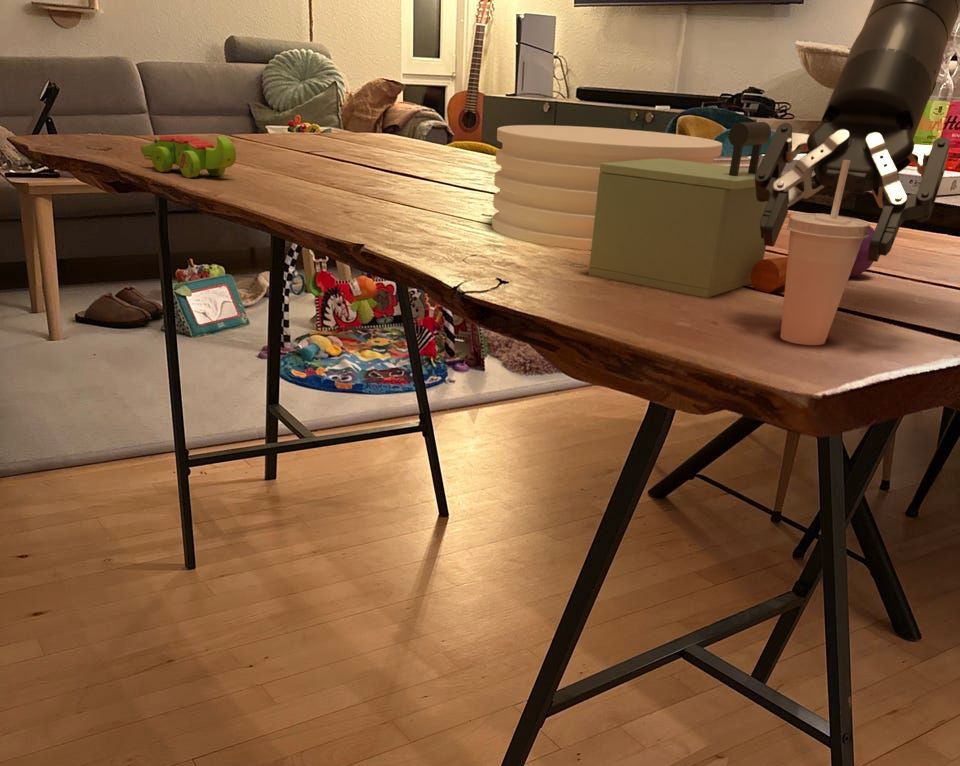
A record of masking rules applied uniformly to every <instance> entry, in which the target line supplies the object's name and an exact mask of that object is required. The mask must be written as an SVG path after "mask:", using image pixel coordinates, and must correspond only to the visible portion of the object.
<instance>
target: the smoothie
mask: <svg viewBox="0 0 960 766" xmlns="http://www.w3.org/2000/svg"><path fill="white" fill-rule="evenodd" d="M849 165H850V160H843V162H842V167H841V171H840V176H839V180H838V184H837V189H836V192H834V198H833V203H832V206H831V211H830V214H829V213H828V214H827V213H817V212H815V213H812V212H811V213H809V212H805V213H800V212H799V213H793V214H791V215H790V216H789V219H788V224H787V225H786V230H788V231H789V239H788V250H787V257H788V260H787V271H786V282H785V284H784V292H783V293H784V294H783V306H782V316H781V326H780V327H781V328H780V339H782V340H783V341H785V342H788V343H793V344H797V345H805V346H819V345H820V346H821V345H824V344H825V343H826V341H827V338H828V335H829V333H830V330H831V327H832V326H833V325H832V324H833V322H834V319H835V316H836V314H837V311H838V308H839V306H840V302H841V300H842V297H843V295H844V291H845V289H846V286H847V283H848V281H849V279H850V277H849V276H850V273H851V270H852V268H853V265H854V262H855V260H856V257H857V254H858V251H859V248H860V246H861V243H862V240H863V238H866V237H868V231H869V227H871V223H870V222H869V221H866V220H864V219H860V218H857V217H851V216H847V215H846V216H844V215H839V212H840V209H841V208H840V207H841V203H842V199H843V195H844V192H845V191H844V186H845V182H846V178H847V173H848V169H849Z"/></svg>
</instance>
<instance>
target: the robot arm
mask: <svg viewBox="0 0 960 766" xmlns="http://www.w3.org/2000/svg"><path fill="white" fill-rule="evenodd" d="M959 15H960V0H873V2H872V4H871V6H870V9H869V12H868V14H867V17H866V18H865V22H864V24H863V26H862V28H861V31H860V32H859V33H858V35H857V37H856V38H855V40H854V42H853V44H852V46H851V47H850V50H849V52H848V55H847V57H846V59H845V62H844V64H843V67H842V69H841V72H840V74H839V76H838V78H837V81H836V84H835V86H834V89H833V91H832V94H831V96H830V98H829V101H828V103H827V105H826V107H825V110H824V113H823V115H822V117H821V121H820V122H819V124H818V126H816V128H815V129H813V130H812V131H811V132H810V133H801V132H794V131H793V126H792V124H791V123H789V122H783V123H780V124H779V126H778V127H777V128H776V129H775V132H774V134H773V136H772V137H771V138H772V139H771V141H770V142H769V145H768V147H767V149H766V151H765V153H764V155H763V157H762V159H761V162H760V163H759V164H758V169H757V172H756V174H755V188H756V199H757V200H758V201H760V202H765V201H768V203H767V205H766V208H765V210H764V213H763V215H762V217H761V220H760V231H761V238H764V245H765V246H766V247H772V248H773V247H775V245H776V243H777V241H778V238H779V235H780V233H781V230H782V228H783V226H784V223H785V220H786V218H787V215H788V214H789V208H790V207H791V206H793V205H794V204H795V203H797V202H798V201H800V200H801V199H805V200H806V199H810V197H812V196H813V195H815V194H817V193H818V192H819V191H821V190H822V189H824V188H825V191H826V192H834V193H836V189H837V184H838V180H839V176H840V171H841V167H842V162H843V160H850V165H849V169H848V173H847V178H846V182H845V186H844V191H843V192H845V191H846V192H848V193H850V194H853V195H862V196H864V195H865V193H866V192H871V193H872V194H873V197H874V199H875V201H876V204H877V206H878V207H879V208H880V209H882V211H881V214H880V215H879V218H878V221H877V224H876V226H875V228H874V233H873V236H872V239H871V241H870V245H869V252H868V261H873V262H875V263H876V262H879V259H880V257H881V256H884V257H886V256H887V255H888V254H889V253H890V252H891V250H892V247H893V245H894V243H895V240H896V237H897V235H898V233H899V230H900V227H901V225H902V224H903V223H904V222H906V221H908V220H915V221H916V222H919V223H923V222H927V221H928V220H929V219H930V217H931V216H932V211H933V209H934V206H935V202H936V199H937V197H938V194H939V190H940V187H941V184H942V181H943V177H944V175H945V171H946V168H947V163H948V158H949V153H950V146H951V141H950V139H949V138H947V137H944V136H943V137H942V136H941V137H938V138H936V139H935V140H934V141H933V143H932V144H920V143H919V144H916V143H915V141H914V138H915V137H916V134H917V131H918V128H919V125H920V123H921V121H922V118H923V115H924V113H925V110H926V108H927V105H928V103H929V100H930V98H931V97H932V95H933V93H934V91H935V89H936V86H937V80H938V77H939V76H940V75H939V74H940V71H941V68H942V65H943V61H944V57H945V56H944V55H945V51H946V48H947V46H948V43H949V41H950V38H951V35H952V32H953V30H954V29H955V26H956V23H957V20H958V18H959ZM804 152H806V154H805V155H803V157H801V158H799V159H798V160H797V161H796V163H795V164H794V167H793V168H792V169H790V170H789V171H787V172H785V173H786V174H785V175H783V176H782V177H780V176H781V174H782V173H784V169H785V168H786V165H787V164H792V163H793V162H794V159H796V158H797V156H798V155H799V154H800V153H804ZM911 163H913V164H915V165H916V172H917V173H918V175H920V177H921V180H920V182H919V186H918V189H917V192H916V193H911V194H907V193H906V191H905V189H904V186H903V185H902V183H901V181H900V177H899V173H900V172H902V171H903V170H905V169H906V168H907V167H909V165H910V164H911ZM813 172H814V175H812V174H813Z"/></svg>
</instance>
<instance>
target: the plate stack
mask: <svg viewBox="0 0 960 766" xmlns="http://www.w3.org/2000/svg"><path fill="white" fill-rule="evenodd" d="M496 141H498V142H500V143H501V144H502V145H501V146H502V148H499V149H496V151H495V163H496V164H497V165H498V166H501V167H500V170H497V171H495V173H494V181H493V182H494V183H493V184H494V186H495V187H496V188H497V189H499V191H497V192H496V193H494V194H493V198H492V199H493V202H492V206H493V208H494V209H495V210H496V211H498V212H495V213H494V214H493V215H492V217H491V219H492V221H491V227H492V229H493V230H494V231H495V232H497V233H498V234H501V235H504V236H505V237H506V236H507V237H509V238H513V239H517V240H520V241H525V242H528V243H535V244H540V245H545V246H552V247H558V248H566V249H567V248H568V249H574V250H585V251H591V248H592V238H593V229H594V220H595V210H596V201H597V192H598V183H599V174H600V173H602V172H600V164H601V163H610V162H622V161H633V160H645V159H656V158H665V159H673V160H681V161H690V162H698V163H706V164H715V165H717V164H716V163H714V159H715V158H718V157H720V156H722V149H723V142H720V141H718V140H715V139H710V138H705V137H698V136H693V135H685V134H676V133H669V132H658V131H649V130H648V131H647V130H637V129H625V128H624V129H623V128H612V127H611V128H610V127H596V126H595V127H594V126H577V125H552V124H551V125H549V124H518V125H517V124H515V125H503V126H499V127H497V130H496Z"/></svg>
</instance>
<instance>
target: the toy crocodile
mask: <svg viewBox="0 0 960 766" xmlns="http://www.w3.org/2000/svg"><path fill="white" fill-rule="evenodd" d="M153 141H154V142H152V143H150V144H148V145H146V144H145V145H144V144H143V145H141V147H140V151H141V154H142V155H143V158H144V159H145V160H148V161H151V162H152V165H153V167H154V168H155V169H156V171H158V172H160V173H166V172H168V173H169V172H170V171H171V170H173V166H174V165H176V166H178V167H179V171H180V172H181V174H182V175H183V176H184V177H185V178H187V179H191V178H192V179H193V178H197V177H198V176H199V175H200V173H201V171H207V173H208V174H209V175H210V176H212V177H221V176H223V175H224V174H225V171H226V168H231V167H232V166H234V164H235V162H236V159H237V153H236V152H237V151H236V148H235V145H234V143H233V141H232V140H231V139H230V138H229V137H227V136H226V135H221V136H220V135H219V136H216V143H217V144H216V146H214V145H213V144H212V143H210V142H208V141H207V140H201V139H200V138H199V137H194V136H180V135H177V136H176V135H161V136H160V137H156V138H154V139H153Z"/></svg>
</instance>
